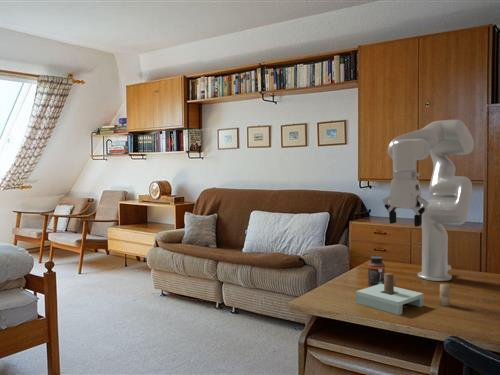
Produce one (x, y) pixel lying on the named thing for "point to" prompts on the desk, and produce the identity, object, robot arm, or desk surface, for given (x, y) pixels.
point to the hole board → (388, 298)
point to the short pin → (394, 282)
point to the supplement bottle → (376, 271)
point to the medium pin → (444, 295)
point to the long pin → (389, 283)
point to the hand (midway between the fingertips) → (405, 224)
